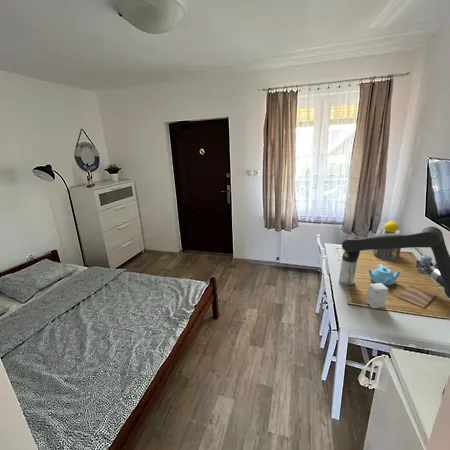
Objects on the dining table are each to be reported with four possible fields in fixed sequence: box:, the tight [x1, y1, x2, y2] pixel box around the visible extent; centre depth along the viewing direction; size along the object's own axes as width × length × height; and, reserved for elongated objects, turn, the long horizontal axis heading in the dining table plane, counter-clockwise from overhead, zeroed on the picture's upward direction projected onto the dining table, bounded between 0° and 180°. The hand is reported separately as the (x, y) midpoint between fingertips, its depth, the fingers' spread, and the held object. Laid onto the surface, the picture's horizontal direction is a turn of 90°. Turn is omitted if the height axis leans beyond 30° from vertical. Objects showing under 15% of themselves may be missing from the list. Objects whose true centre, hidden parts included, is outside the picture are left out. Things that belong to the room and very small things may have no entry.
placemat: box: [396, 284, 437, 309], centre depth 155 cm, size 20×14×1 cm
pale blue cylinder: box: [416, 254, 433, 276], centre depth 159 cm, size 6×6×11 cm
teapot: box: [367, 263, 401, 287], centre depth 171 cm, size 15×15×11 cm
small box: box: [365, 282, 389, 309], centre depth 147 cm, size 8×6×13 cm
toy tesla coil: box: [372, 221, 402, 261], centre depth 204 cm, size 19×19×30 cm
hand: (422, 261), depth 161 cm, fingers closed on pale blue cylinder, 5 cm apart
